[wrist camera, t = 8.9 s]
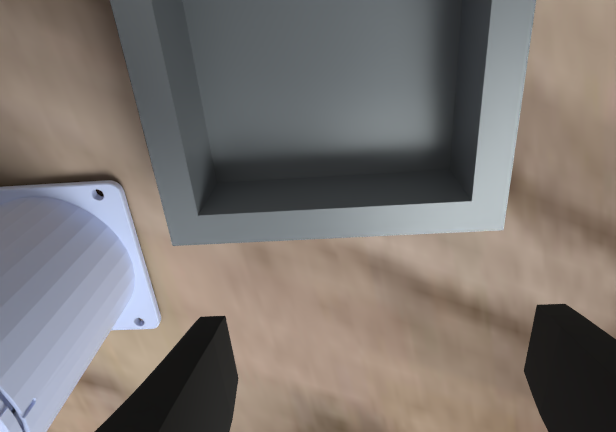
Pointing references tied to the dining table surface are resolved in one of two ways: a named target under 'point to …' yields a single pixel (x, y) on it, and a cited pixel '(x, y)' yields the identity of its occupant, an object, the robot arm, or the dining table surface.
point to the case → (327, 114)
